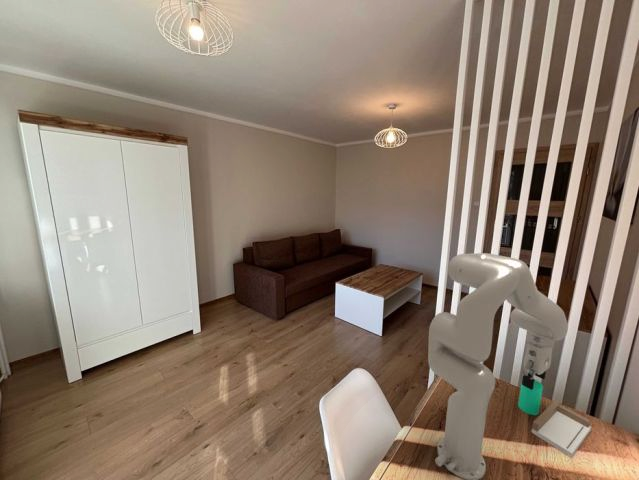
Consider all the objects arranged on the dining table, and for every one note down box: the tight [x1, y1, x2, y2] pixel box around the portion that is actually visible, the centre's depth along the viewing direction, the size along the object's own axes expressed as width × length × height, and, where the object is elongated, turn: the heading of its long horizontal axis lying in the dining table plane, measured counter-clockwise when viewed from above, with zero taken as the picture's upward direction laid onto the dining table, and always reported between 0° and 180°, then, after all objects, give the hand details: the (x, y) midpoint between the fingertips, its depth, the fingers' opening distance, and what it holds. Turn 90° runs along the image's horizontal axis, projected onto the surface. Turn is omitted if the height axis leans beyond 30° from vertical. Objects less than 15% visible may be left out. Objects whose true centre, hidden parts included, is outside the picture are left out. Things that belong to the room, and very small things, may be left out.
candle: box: [517, 379, 544, 416], centre depth 96 cm, size 6×6×12 cm
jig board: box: [531, 400, 592, 458], centre depth 87 cm, size 18×10×4 cm, turn 122°
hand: (533, 381), depth 96 cm, fingers open, 9 cm apart
